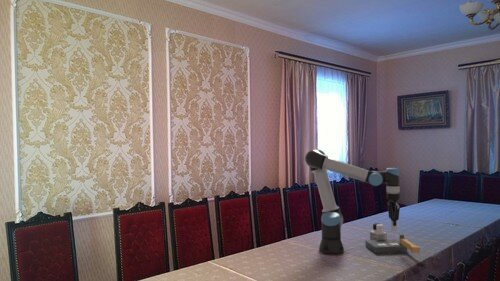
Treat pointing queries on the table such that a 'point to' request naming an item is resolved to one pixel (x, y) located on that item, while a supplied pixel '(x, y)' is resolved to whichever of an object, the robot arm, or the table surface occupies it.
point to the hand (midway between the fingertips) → (393, 230)
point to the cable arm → (409, 244)
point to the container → (378, 232)
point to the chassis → (385, 246)
